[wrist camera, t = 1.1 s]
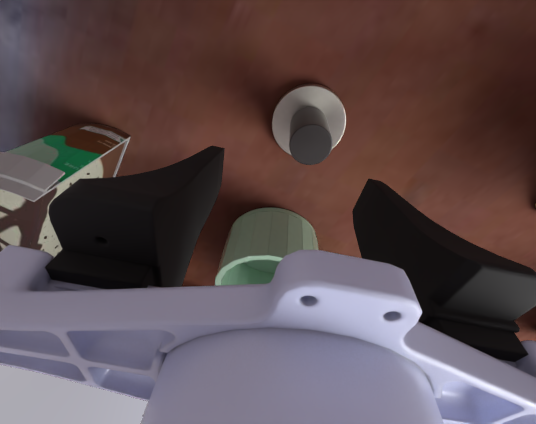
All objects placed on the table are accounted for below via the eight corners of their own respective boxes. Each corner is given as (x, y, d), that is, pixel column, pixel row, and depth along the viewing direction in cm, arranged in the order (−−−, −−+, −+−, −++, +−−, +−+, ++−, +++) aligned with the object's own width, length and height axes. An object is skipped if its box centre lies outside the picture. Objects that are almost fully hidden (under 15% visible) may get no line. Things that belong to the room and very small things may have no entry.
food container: (51, 68, 18) (-134, 113, 10) (136, 121, 20) (34, 193, 12) (34, 186, 25) (-86, 269, 17) (99, 218, 27) (18, 306, 19)
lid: (359, 123, 19) (373, 147, 16) (304, 167, 21) (305, 196, 18) (313, 64, 17) (317, 78, 14) (257, 120, 19) (250, 143, 16)
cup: (335, 246, 26) (344, 297, 22) (272, 281, 31) (267, 331, 26) (273, 190, 23) (267, 237, 18) (211, 239, 27) (193, 287, 23)
